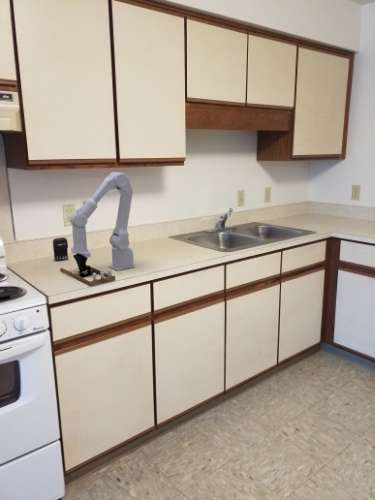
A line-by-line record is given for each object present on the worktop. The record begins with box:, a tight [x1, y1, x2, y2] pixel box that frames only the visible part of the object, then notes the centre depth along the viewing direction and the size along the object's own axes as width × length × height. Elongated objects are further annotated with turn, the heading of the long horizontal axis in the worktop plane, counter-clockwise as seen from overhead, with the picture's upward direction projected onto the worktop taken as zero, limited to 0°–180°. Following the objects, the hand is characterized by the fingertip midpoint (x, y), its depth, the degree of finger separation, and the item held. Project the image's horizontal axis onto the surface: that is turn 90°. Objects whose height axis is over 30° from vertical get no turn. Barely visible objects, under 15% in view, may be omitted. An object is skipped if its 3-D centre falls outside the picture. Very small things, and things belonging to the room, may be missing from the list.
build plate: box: [77, 264, 98, 279], centre depth 174 cm, size 12×7×5 cm, turn 135°
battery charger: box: [52, 236, 69, 262], centre depth 197 cm, size 7×4×11 cm, turn 123°
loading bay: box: [59, 266, 116, 287], centre depth 173 cm, size 12×29×5 cm, turn 42°
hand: (81, 270), depth 176 cm, fingers closed
